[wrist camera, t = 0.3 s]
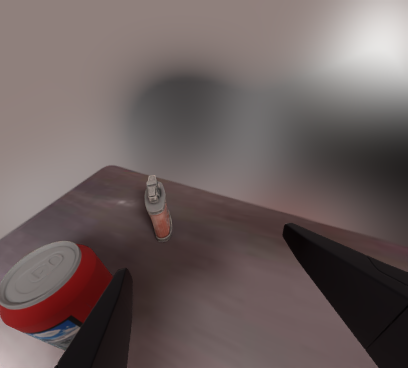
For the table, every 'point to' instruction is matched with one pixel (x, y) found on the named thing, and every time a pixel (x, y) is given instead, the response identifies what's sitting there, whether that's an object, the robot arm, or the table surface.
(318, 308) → the table surface
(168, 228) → the lighter
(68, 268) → the beverage can
